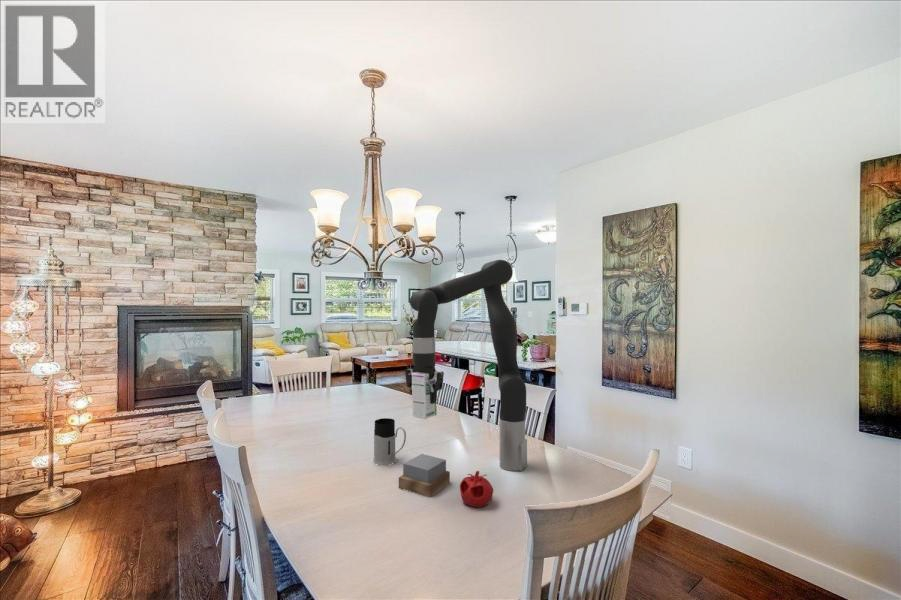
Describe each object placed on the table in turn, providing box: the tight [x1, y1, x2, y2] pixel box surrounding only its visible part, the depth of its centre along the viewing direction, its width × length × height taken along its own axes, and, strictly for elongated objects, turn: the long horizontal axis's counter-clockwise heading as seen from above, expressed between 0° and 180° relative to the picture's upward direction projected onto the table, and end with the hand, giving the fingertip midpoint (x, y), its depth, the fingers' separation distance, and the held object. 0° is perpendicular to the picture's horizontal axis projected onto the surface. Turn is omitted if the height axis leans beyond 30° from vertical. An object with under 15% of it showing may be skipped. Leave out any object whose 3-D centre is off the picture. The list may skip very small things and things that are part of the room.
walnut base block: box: [398, 470, 451, 498], centre depth 131 cm, size 12×12×4 cm
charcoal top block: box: [402, 453, 447, 483], centre depth 131 cm, size 10×10×4 cm
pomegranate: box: [459, 470, 494, 508], centre depth 120 cm, size 10×10×9 cm
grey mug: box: [372, 417, 407, 466], centre depth 150 cm, size 9×14×15 cm, turn 59°
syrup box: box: [411, 372, 437, 420], centre depth 131 cm, size 6×6×14 cm
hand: (424, 401), depth 132 cm, fingers closed on syrup box, 6 cm apart
